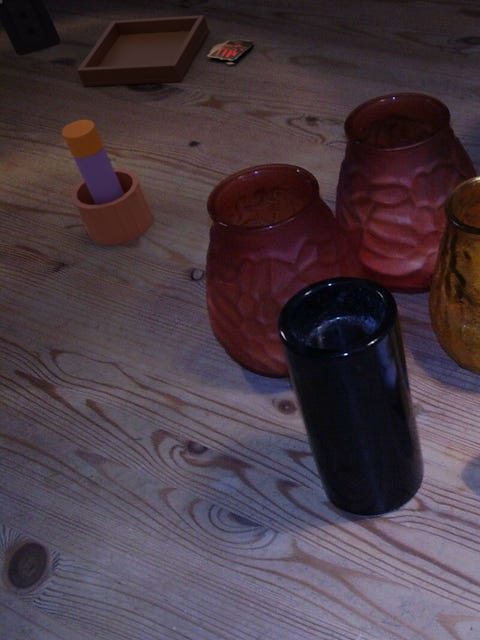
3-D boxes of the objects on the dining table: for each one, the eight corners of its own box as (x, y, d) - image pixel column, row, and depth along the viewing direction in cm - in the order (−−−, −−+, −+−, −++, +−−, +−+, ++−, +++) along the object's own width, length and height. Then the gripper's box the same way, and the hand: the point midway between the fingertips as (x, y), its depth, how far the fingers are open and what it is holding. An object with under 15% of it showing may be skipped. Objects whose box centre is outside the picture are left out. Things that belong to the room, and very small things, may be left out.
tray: (83, 86, 110) (76, 70, 108) (118, 36, 117) (112, 20, 116) (181, 82, 108) (175, 65, 107) (209, 31, 116) (204, 15, 114)
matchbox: (256, 41, 112) (255, 37, 112) (240, 65, 109) (239, 61, 109) (218, 41, 113) (216, 37, 113) (201, 65, 110) (199, 61, 110)
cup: (81, 250, 89) (61, 209, 85) (104, 209, 93) (85, 169, 89) (143, 248, 88) (125, 207, 85) (163, 207, 92) (146, 167, 89)
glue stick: (102, 234, 89) (56, 138, 82) (112, 215, 91) (68, 120, 84) (130, 233, 89) (87, 137, 82) (140, 214, 91) (98, 118, 83)
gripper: (-144, -245, 69) (-27, -7, 81) (-145, -180, 57) (-9, 87, 69) (-33, -270, 70) (65, -33, 82) (-12, -212, 59) (99, 54, 71)
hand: (32, 22), depth 76 cm, fingers open, 9 cm apart
